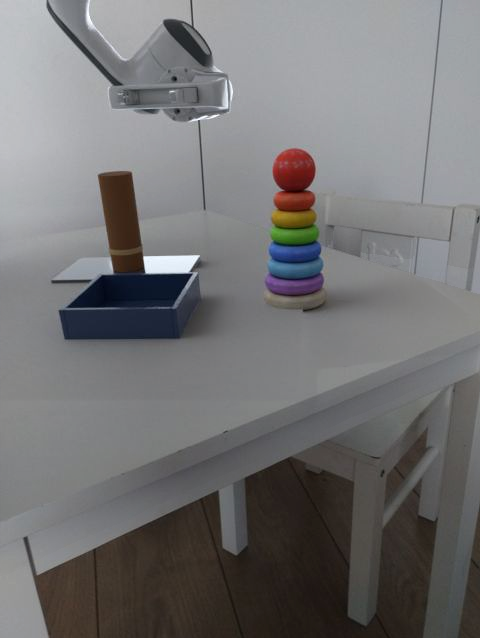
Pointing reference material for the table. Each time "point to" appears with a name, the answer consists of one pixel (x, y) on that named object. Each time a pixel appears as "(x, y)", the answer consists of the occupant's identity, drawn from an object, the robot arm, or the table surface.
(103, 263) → the board
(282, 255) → the stacking toy
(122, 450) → the table surface
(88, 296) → the tray
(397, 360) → the table surface
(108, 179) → the rolled mat
